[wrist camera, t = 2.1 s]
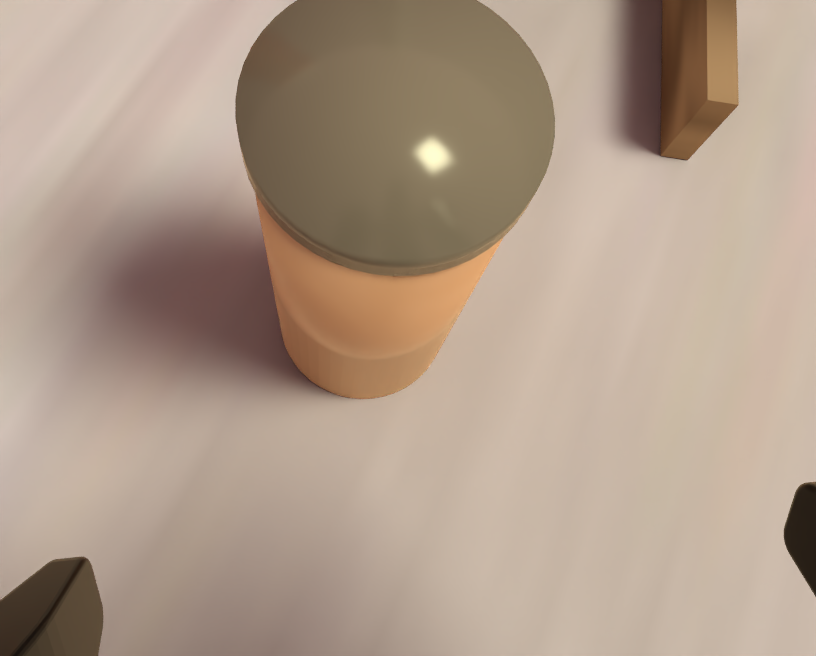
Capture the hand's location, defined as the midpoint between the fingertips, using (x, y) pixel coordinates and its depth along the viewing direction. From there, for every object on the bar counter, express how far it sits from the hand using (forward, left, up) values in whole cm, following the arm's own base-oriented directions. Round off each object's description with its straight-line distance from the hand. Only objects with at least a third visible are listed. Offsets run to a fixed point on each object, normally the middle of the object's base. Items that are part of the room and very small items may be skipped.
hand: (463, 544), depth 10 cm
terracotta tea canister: (+7, -3, -13) cm, 15 cm away
